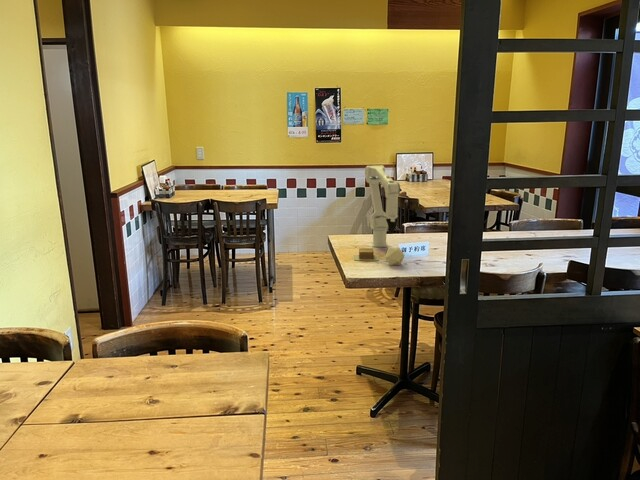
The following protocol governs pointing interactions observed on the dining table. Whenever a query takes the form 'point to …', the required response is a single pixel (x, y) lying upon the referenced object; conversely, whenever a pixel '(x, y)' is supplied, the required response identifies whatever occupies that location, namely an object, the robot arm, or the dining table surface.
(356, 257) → the mat
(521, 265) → the dining table surface
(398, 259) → the die
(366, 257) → the walnut block
